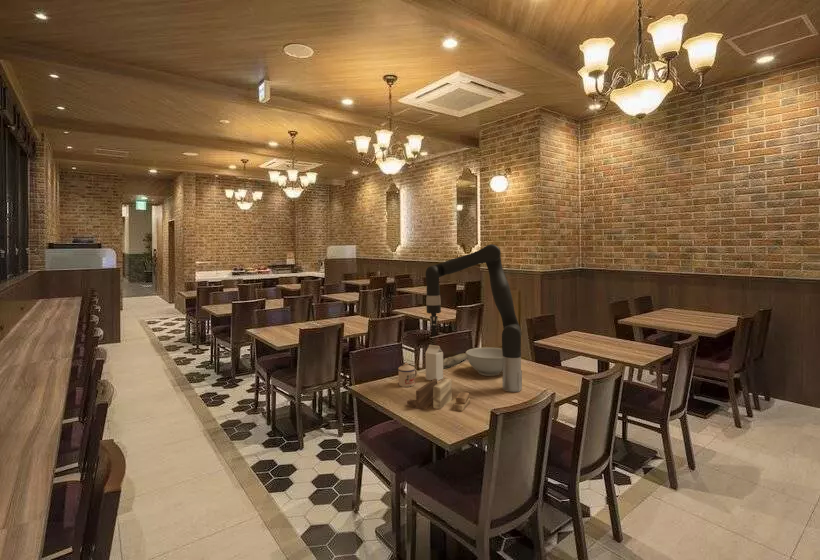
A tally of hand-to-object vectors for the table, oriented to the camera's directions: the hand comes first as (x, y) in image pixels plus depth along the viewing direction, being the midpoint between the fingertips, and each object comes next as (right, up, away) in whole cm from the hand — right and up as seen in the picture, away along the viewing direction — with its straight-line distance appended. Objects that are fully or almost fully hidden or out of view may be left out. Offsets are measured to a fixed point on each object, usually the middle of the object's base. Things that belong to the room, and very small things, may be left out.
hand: (434, 334), depth 230 cm
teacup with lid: (-13, -27, +5) cm, 31 cm away
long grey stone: (+15, -24, +48) cm, 56 cm away
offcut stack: (+11, -29, -30) cm, 43 cm away
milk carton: (+1, -27, +13) cm, 30 cm away
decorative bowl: (+33, -26, +24) cm, 48 cm away
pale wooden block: (+3, -29, -26) cm, 39 cm away
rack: (-5, -29, -22) cm, 37 cm away
